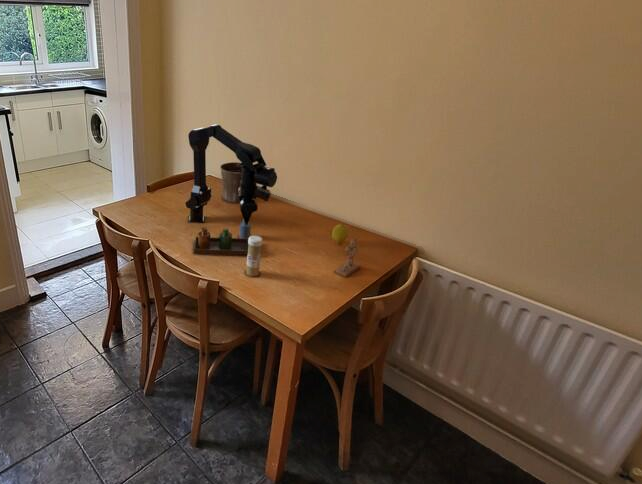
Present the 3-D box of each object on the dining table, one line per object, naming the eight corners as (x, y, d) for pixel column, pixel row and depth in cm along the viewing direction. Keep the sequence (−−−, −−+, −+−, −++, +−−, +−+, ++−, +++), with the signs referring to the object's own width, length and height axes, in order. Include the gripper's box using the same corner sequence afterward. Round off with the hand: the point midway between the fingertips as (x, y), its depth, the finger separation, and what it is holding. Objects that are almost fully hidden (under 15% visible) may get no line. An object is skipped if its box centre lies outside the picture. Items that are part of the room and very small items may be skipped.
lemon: (345, 240, 161) (349, 222, 157) (346, 247, 156) (349, 228, 153) (330, 238, 162) (334, 220, 159) (330, 245, 158) (334, 226, 154)
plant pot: (254, 204, 195) (257, 172, 188) (220, 204, 195) (221, 172, 188) (249, 192, 209) (251, 162, 202) (217, 192, 210) (218, 162, 203)
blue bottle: (238, 234, 166) (240, 216, 163) (249, 235, 166) (251, 217, 162) (239, 239, 162) (240, 221, 159) (250, 240, 162) (252, 221, 158)
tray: (195, 241, 161) (195, 236, 160) (254, 243, 159) (255, 238, 158) (193, 253, 152) (193, 249, 151) (257, 256, 150) (257, 251, 149)
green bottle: (219, 244, 158) (219, 226, 155) (231, 244, 157) (232, 227, 154) (219, 249, 154) (219, 232, 150) (231, 250, 153) (232, 232, 150)
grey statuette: (348, 263, 145) (354, 233, 140) (359, 267, 142) (365, 237, 137) (335, 272, 140) (341, 241, 135) (346, 277, 137) (352, 245, 132)
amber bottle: (198, 243, 158) (198, 226, 155) (210, 243, 158) (210, 226, 155) (197, 249, 154) (198, 231, 151) (209, 249, 154) (210, 231, 151)
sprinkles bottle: (243, 273, 139) (245, 238, 134) (250, 268, 143) (253, 233, 137) (255, 278, 137) (258, 242, 131) (261, 272, 140) (265, 237, 134)
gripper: (273, 190, 145) (269, 229, 152) (267, 173, 162) (264, 209, 168) (241, 189, 146) (239, 228, 152) (239, 172, 163) (236, 209, 169)
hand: (245, 218), depth 161 cm, fingers open, 9 cm apart
